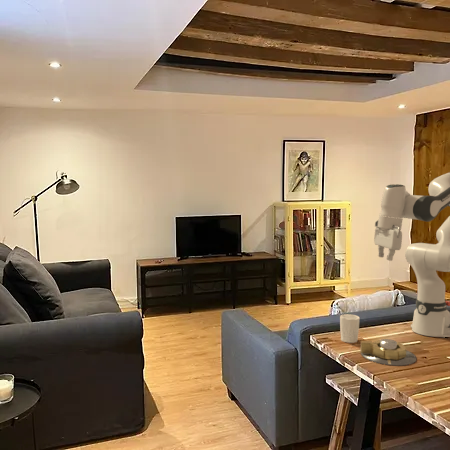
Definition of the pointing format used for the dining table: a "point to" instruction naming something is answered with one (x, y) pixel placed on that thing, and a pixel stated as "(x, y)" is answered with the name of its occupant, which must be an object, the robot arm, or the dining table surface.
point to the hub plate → (391, 345)
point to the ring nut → (383, 350)
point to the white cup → (349, 328)
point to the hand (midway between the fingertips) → (385, 258)
